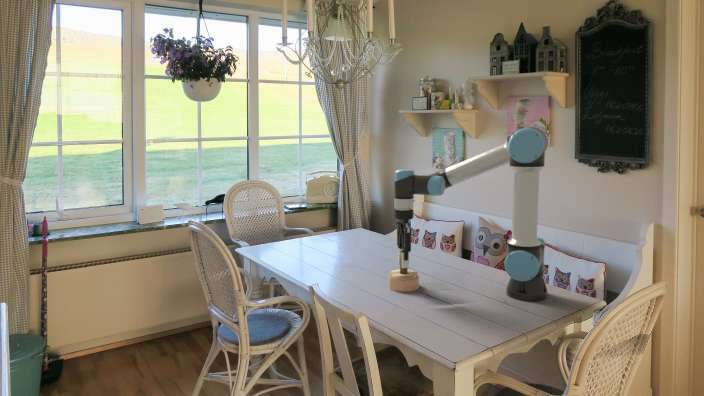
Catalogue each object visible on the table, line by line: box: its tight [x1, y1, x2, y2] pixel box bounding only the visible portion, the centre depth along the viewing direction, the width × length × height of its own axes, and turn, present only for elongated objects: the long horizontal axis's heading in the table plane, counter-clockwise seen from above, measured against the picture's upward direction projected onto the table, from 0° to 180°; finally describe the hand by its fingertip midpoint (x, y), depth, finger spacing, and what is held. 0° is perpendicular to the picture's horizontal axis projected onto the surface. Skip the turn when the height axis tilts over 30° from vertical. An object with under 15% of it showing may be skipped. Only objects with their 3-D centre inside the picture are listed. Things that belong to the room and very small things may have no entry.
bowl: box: [387, 273, 420, 293], centre depth 213 cm, size 12×12×6 cm
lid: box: [389, 253, 418, 280], centre depth 211 cm, size 11×11×9 cm
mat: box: [419, 281, 452, 292], centre depth 213 cm, size 10×10×1 cm
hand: (403, 266), depth 212 cm, fingers open, 4 cm apart
